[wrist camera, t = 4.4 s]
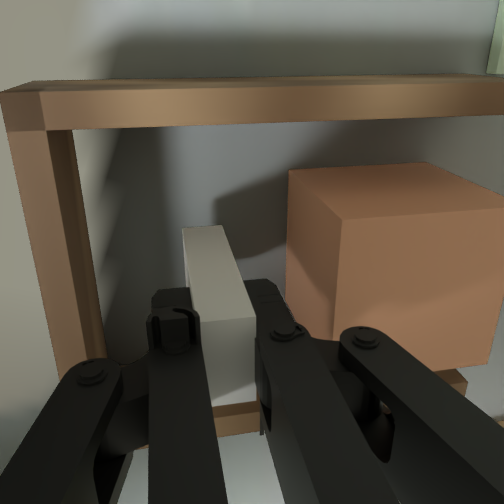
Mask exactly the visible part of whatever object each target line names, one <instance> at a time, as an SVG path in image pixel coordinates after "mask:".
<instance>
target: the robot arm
mask: <svg viewBox="0 0 504 504" xmlns="http://www.w3.org/2000/svg"><path fill="white" fill-rule="evenodd" d="M182 235H183V249H184V263H185V277H186V287H184V288H173V289H163V290H158V291H157V292H156V293H155V295H154V296H153V297H152V313H151V314H150V315H149V316H148V318H147V321H146V327H147V336H148V344H149V351H148V353H147V354H146V355H145V356H144V357H143V358H141V359H140V360H138V361H136V362H134V363H132V364H129V365H127V366H124V367H121V368H120V366H119V364H118V363H117V362H115V361H113V360H111V359H106V358H94V359H89V360H86V361H82V362H80V363H78V364H76V365H75V366H73V367H71V368H70V369H69V370H68V371H67V372H66V373H65V374H64V376H63V378H62V379H61V381H60V382H59V384H58V385H57V387H56V389H55V390H54V392H53V393H52V395H51V397H50V398H49V400H48V401H47V403H46V404H45V406H44V408H43V409H42V411H41V412H40V414H39V416H38V417H37V419H36V420H35V422H34V423H33V425H32V427H31V428H30V430H29V431H28V433H27V435H26V436H25V438H24V439H23V441H22V442H21V444H20V446H19V447H18V449H17V450H16V452H15V454H14V455H13V457H12V458H11V460H10V461H9V463H8V465H7V466H6V468H5V469H4V471H3V473H2V474H1V476H0V504H117V502H118V499H119V496H120V493H121V490H122V487H123V484H124V481H125V479H126V476H127V473H128V470H129V467H130V464H131V461H132V457H133V451H134V450H136V449H138V448H141V447H143V446H145V445H148V444H149V461H148V504H228V501H227V494H226V488H225V482H224V476H223V470H222V464H221V458H220V452H219V446H218V440H217V434H216V428H215V422H214V416H213V410H212V407H214V406H221V405H228V404H235V403H242V402H249V401H256V387H257V391H258V394H259V397H260V435H264V430H265V434H266V438H267V441H268V445H269V448H270V452H271V455H272V459H273V462H274V466H275V469H276V473H277V476H278V480H279V483H280V487H281V491H282V494H283V498H284V501H285V504H400V503H401V504H504V428H503V427H502V426H501V425H499V424H498V423H497V422H496V421H494V420H493V419H492V418H491V417H489V416H488V415H487V414H486V413H484V412H483V411H482V410H481V409H479V408H478V407H477V406H476V405H474V404H473V403H472V402H471V401H469V400H468V399H467V398H466V397H464V396H463V395H462V394H461V393H459V392H458V391H457V390H455V389H454V388H453V387H452V386H450V385H449V384H448V383H447V382H445V381H444V380H443V379H442V378H440V377H439V376H438V375H437V374H435V373H434V372H433V371H432V370H430V369H429V368H428V367H427V366H425V365H424V364H423V363H422V362H420V361H419V360H418V359H416V358H415V357H414V356H413V355H411V354H410V353H409V352H408V351H406V350H405V349H404V348H403V347H401V346H400V345H399V344H398V343H396V342H395V341H394V340H393V339H391V338H390V337H389V336H388V335H386V334H385V333H383V332H381V331H380V330H378V329H374V328H371V327H367V326H356V327H350V328H348V329H345V330H343V332H342V333H341V334H340V338H339V341H333V340H323V339H317V338H313V337H311V335H310V333H309V331H308V330H307V329H306V328H305V327H304V326H303V325H301V324H299V323H297V322H294V320H293V318H292V316H291V314H290V312H289V310H288V308H287V306H286V304H285V302H284V300H283V298H282V296H281V295H280V292H279V290H278V288H277V286H276V285H275V284H274V283H272V282H271V281H269V280H268V279H256V280H245V281H243V280H242V277H241V275H240V272H239V269H238V267H237V264H236V261H235V259H234V256H233V253H232V251H231V248H230V245H229V243H228V240H227V237H226V235H225V232H224V229H223V227H222V225H215V226H201V227H188V228H182ZM383 403H384V404H385V405H386V406H387V407H388V408H387V407H386V406H385V405H384V404H383ZM398 500H399V501H400V503H399V501H398Z"/></svg>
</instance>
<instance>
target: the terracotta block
mask: <svg viewBox="0 0 504 504" xmlns="http://www.w3.org/2000/svg"><path fill="white" fill-rule="evenodd" d="M503 298H504V196H502V195H499V194H497V193H495V192H493V191H490V190H488V189H486V188H484V187H481V186H479V185H477V184H475V183H472V182H470V181H468V180H465V179H463V178H461V177H459V176H456V175H454V174H452V173H450V172H447V171H445V170H443V169H441V168H438V167H436V166H434V165H432V164H429V163H427V162H419V163H401V164H382V165H364V166H346V167H327V168H309V169H290V170H289V178H288V214H287V250H286V286H285V301H286V303H287V305H288V306H289V308H290V310H291V312H292V314H293V316H294V318H295V320H296V322H297V323H299V324H301V325H303V326H304V327H305V328H306V329H307V330H308V331H309V333H310V335H311V337H313V338H317V339H323V340H333V341H339V338H340V334H341V333H342V332H343V330H345V329H348V328H350V327H356V326H367V327H371V328H374V329H378V330H380V331H381V332H383V333H385V334H386V335H388V336H389V337H390V338H391V339H393V340H394V341H395V342H396V343H398V344H399V345H400V346H401V347H403V348H404V349H405V350H406V351H408V352H409V353H410V354H411V355H413V356H414V357H415V358H416V359H418V360H419V361H420V362H422V363H423V364H424V365H425V366H427V367H428V368H429V369H430V370H432V371H439V370H447V369H454V368H461V367H469V366H476V365H483V364H487V362H488V358H489V354H490V350H491V346H492V342H493V338H494V334H495V330H496V326H497V322H498V318H499V314H500V310H501V306H502V302H503Z"/></svg>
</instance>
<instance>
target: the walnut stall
mask: <svg viewBox="0 0 504 504" xmlns="http://www.w3.org/2000/svg"><path fill="white" fill-rule="evenodd" d="M0 104H1V108H2V113H3V118H4V123H5V127H6V132H7V137H8V141H9V146H10V151H11V155H12V160H13V165H14V169H15V174H16V179H17V183H18V187H19V193H20V197H21V202H22V207H23V211H24V216H25V221H26V225H27V230H28V234H29V239H30V244H31V249H32V253H33V258H34V262H35V267H36V272H37V277H38V281H39V286H40V291H41V295H42V300H43V305H44V309H45V314H46V319H47V323H48V328H49V332H50V338H51V342H52V347H53V352H54V356H55V361H56V366H57V370H58V375H59V380H60V381H61V379H62V378H63V376H64V374H65V373H66V372H67V371H68V370H69V369H70V368H71V367H73V366H75V365H76V364H78V363H80V362H82V361H86V360H89V359H94V358H106V359H108V355H107V349H106V342H105V336H104V330H103V323H102V317H101V311H100V304H99V298H98V292H97V285H96V279H95V273H94V266H93V260H92V254H91V247H90V241H89V234H88V228H87V222H86V215H85V209H84V203H83V196H82V190H81V184H80V177H79V171H78V165H77V158H76V152H75V146H74V139H73V133H72V130H73V129H102V128H131V127H161V126H190V125H219V124H248V123H277V122H306V121H335V120H365V119H394V118H423V117H452V116H481V115H504V78H501V77H491V76H482V75H472V74H408V75H349V76H290V77H230V78H171V79H112V80H54V81H31V82H28V83H25V84H22V85H19V86H16V87H13V88H10V89H7V90H4V91H2V92H0ZM124 366H127V365H122V366H120V368H121V367H124ZM433 372H434V373H435V374H437V375H438V376H439V377H440V378H442V379H443V380H444V381H445V382H447V383H448V384H449V385H450V386H452V387H453V388H454V389H455V390H457V391H458V392H459V393H461V394H462V395H463V396H464V397H465V392H466V388H467V384H468V381H467V380H466V379H465V378H464V377H463V376H462V375H461V374H460V373H459V372H458V371H457V370H456V369H455V368H454V369H447V370H439V371H433ZM383 404H384V403H383ZM384 405H385V404H384ZM385 406H386V405H385ZM386 407H387V406H386ZM387 408H388V407H387ZM212 410H213V416H214V422H215V428H216V434H217V437H224V436H230V435H237V434H244V433H250V432H257V431H260V397H259V394H258V391H257V387H256V401H249V402H242V403H235V404H228V405H221V406H214V407H212ZM144 448H149V444H148V445H145V446H143V447H141V448H138V449H144ZM136 450H137V449H136Z"/></svg>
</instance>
